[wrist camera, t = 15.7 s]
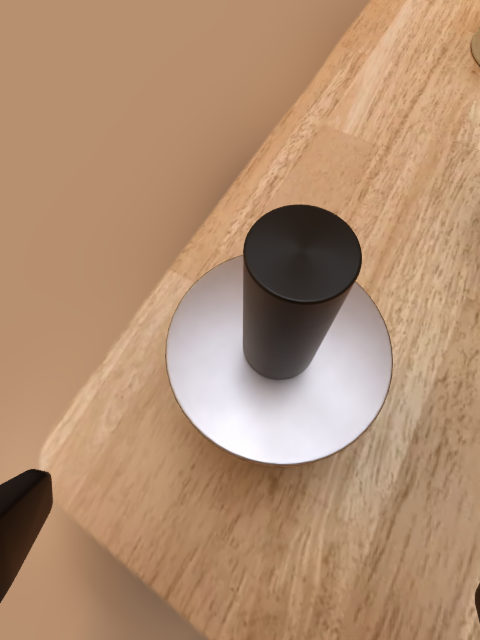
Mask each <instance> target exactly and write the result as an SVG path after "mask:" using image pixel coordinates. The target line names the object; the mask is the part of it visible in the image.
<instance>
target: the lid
mask: <svg viewBox="0 0 480 640" xmlns="http://www.w3.org/2000/svg"><path fill="white" fill-rule="evenodd" d="M361 264H362V253H361V247H360V244H359V241H358V239H357V237H356V235H355V233H354V232H353V230H352V229H351V228H350V226H349V225H348V224H347V223H346V222H345V221H343V220H342V219H341V218H340V217H338V216H337V215H335V214H333V213H332V212H330V211H327V210H325V209H322V208H319V207H316V206H310V205H288V206H283V207H280V208H277V209H274V210H272V211H270V212H268V213H266V214H265V215H263V216H262V217H261V218H260V219H259V220H257V221H256V223H255V224H254V225H253V226H252V227H251V229H250V231H249V232H248V234H247V237H246V239H245V243H244V250H243V255H241V256H237V257H235V258H232V259H230V260H227V261H225V262H223V263H221V264H219V265H218V266H216V267H214V268H213V269H211V270H210V271H208V272H207V273H206V274H204V275H203V276H202V277H201V278H200V279H199V280H197V281H196V282H195V283H194V284H193V286H192V287H191V288H190V289H189V290H188V291H187V292H186V294H185V295H184V297H183V298H182V300H181V301H180V303H179V304H178V306H177V309H176V311H175V313H174V315H173V317H172V320H171V323H170V326H169V329H168V334H167V340H166V354H165V358H166V369H167V374H168V378H169V383H170V386H171V389H172V391H173V394H174V396H175V399H176V401H177V403H178V404H179V406H180V408H181V410H182V412H183V413H184V414H185V416H186V417H187V418H188V420H189V421H190V422H191V424H192V425H193V426H194V428H195V429H196V430H197V431H198V432H199V433H200V434H201V435H202V436H203V437H204V438H206V439H207V440H208V441H210V442H211V443H212V444H214V445H215V446H216V447H217V448H219V449H221V450H223V451H225V452H226V453H228V454H230V455H232V456H234V457H237V458H239V459H242V460H244V461H247V462H251V463H255V464H259V465H265V466H275V467H289V466H299V465H305V464H310V463H313V462H316V461H319V460H322V459H325V458H328V457H330V456H332V455H334V454H336V453H338V452H340V451H342V450H344V449H345V448H346V447H348V446H349V445H351V444H352V443H353V442H355V441H356V440H357V439H358V438H359V437H360V436H361V435H362V434H363V433H365V432H366V431H367V429H368V428H369V427H370V426H371V424H372V423H373V422H374V420H375V419H376V418H377V416H378V414H379V412H380V411H381V409H382V407H383V405H384V403H385V400H386V397H387V395H388V392H389V388H390V383H391V379H392V368H393V357H392V347H391V342H390V337H389V333H388V330H387V327H386V324H385V322H384V319H383V318H382V316H381V314H380V312H379V310H378V308H377V306H376V305H375V303H374V302H373V300H372V299H371V297H370V296H369V295H368V294H367V293H366V292H365V290H364V289H363V288H362V287H361V286H360V285H359V284H358V283H357V282H356V279H357V277H358V275H359V272H360V269H361Z"/></svg>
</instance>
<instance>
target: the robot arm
mask: <svg viewBox="0 0 480 640" xmlns="http://www.w3.org/2000/svg"><path fill="white" fill-rule="evenodd" d="M52 504H53V494H52V479H51V475H50V473H49V472H46V471H41V470H36V469H31V470H27V471H25V472H23V473H21V474H20V475H18V476H16V477H14V478H12V479H10V480H8V481H7V482H5V483H3V484H1V485H0V603H1V601H2V599H3V598H4V596H5V595H6V593H7V591H8V589H9V588H10V586H11V585H12V583H13V581H14V579H15V577H16V576H17V574H18V572H19V570H20V568H21V566H22V564H23V562H24V560H25V559H26V557H27V555H28V553H29V551H30V549H31V547H32V545H33V543H34V542H35V540H36V538H37V536H38V534H39V532H40V530H41V528H42V526H43V524H44V523H45V521H46V519H47V517H48V515H49V513H50V511H51V508H52ZM475 605H476V610H477V614H478V618H479V622H480V583H479V585H478V587H477V589H476V592H475Z"/></svg>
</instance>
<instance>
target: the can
mask: <svg viewBox="0 0 480 640" xmlns="http://www.w3.org/2000/svg"><path fill="white" fill-rule="evenodd" d="M471 47H472V53H473V56H474V58H475V59H476V61H477V62H478V64H479V65H480V28H479V30H478V31H477V32H476V33H475V35H474V37H473V40H472V44H471Z"/></svg>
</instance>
